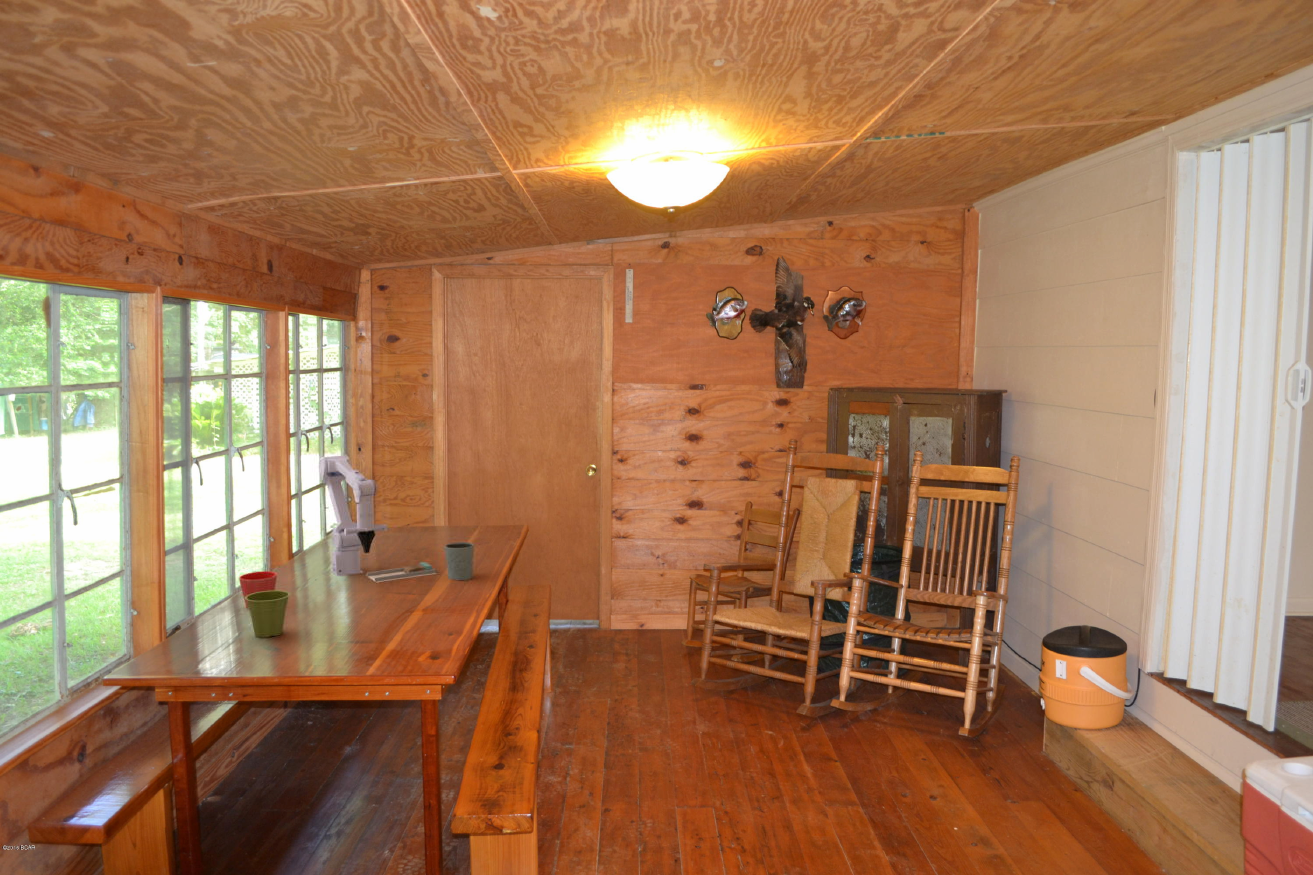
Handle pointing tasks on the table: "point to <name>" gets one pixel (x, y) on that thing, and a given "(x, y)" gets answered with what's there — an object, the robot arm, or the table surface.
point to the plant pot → (268, 612)
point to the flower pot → (257, 583)
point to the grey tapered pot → (459, 560)
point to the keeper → (413, 568)
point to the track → (399, 573)
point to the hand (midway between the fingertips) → (366, 552)
